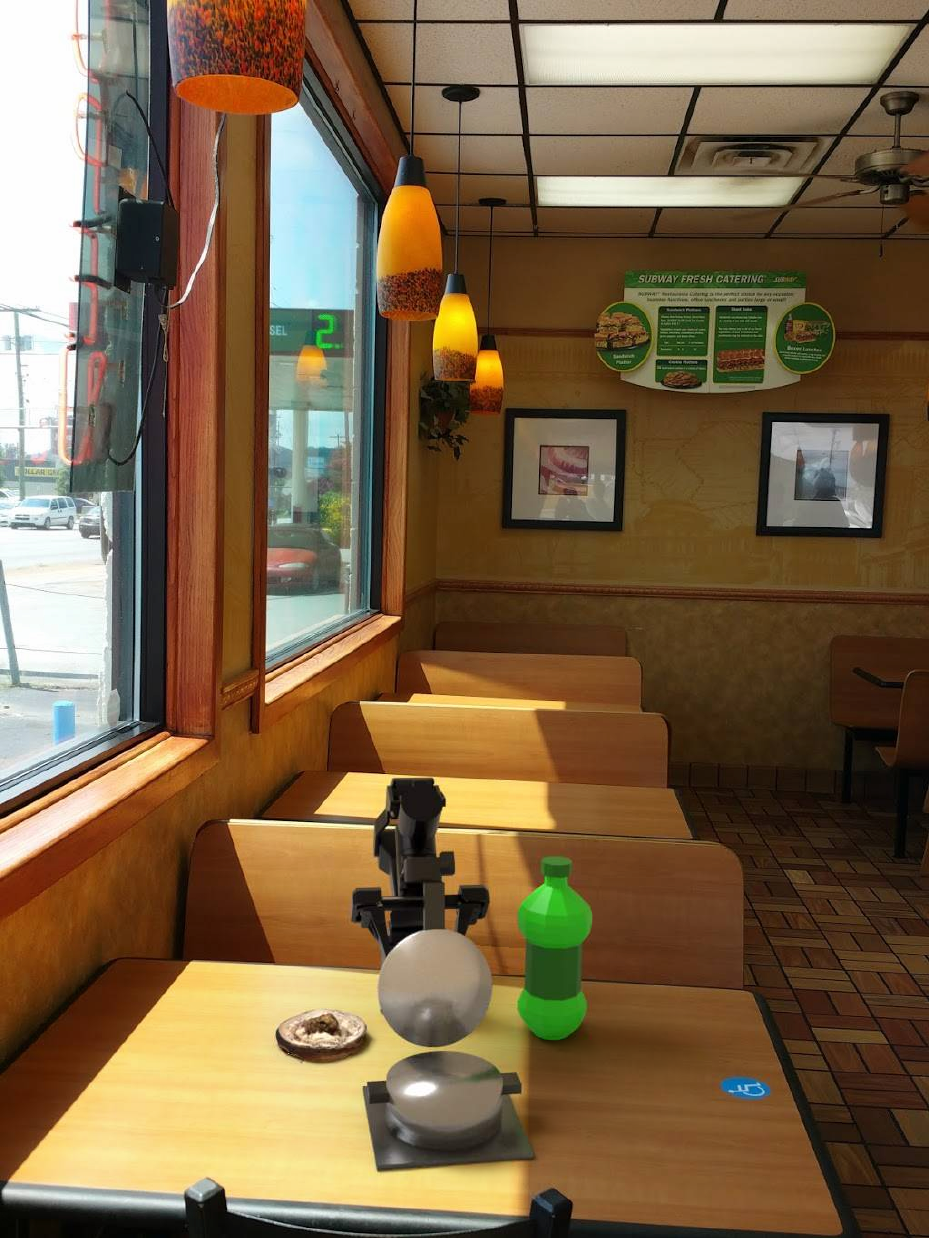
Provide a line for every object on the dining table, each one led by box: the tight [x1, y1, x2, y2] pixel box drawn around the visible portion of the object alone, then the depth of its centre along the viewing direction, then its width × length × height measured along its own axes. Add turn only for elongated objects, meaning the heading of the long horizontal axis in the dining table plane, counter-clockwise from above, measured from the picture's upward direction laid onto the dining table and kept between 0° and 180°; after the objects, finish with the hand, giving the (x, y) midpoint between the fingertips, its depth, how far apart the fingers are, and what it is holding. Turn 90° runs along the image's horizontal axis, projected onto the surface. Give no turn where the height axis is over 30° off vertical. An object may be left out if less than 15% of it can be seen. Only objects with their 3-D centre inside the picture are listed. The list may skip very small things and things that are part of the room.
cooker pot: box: [362, 1050, 534, 1171], centre depth 139 cm, size 18×18×6 cm
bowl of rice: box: [274, 1008, 368, 1064], centre depth 159 cm, size 15×15×4 cm
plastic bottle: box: [516, 856, 593, 1041], centre depth 163 cm, size 10×10×25 cm
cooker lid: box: [377, 881, 493, 1048], centre depth 147 cm, size 20×15×2 cm
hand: (423, 963), depth 153 cm, fingers open, 9 cm apart
